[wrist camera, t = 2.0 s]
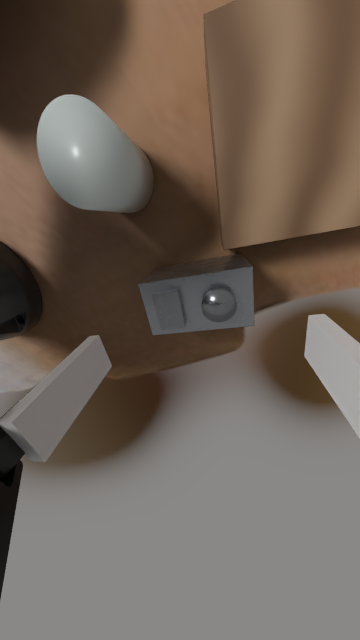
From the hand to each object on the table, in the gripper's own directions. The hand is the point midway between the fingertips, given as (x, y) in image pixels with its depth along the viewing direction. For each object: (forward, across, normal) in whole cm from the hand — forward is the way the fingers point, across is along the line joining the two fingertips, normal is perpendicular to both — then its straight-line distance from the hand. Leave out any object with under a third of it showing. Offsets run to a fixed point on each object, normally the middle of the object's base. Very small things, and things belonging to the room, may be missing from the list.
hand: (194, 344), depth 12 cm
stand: (+13, +10, +11) cm, 20 cm away
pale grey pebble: (+13, -6, +12) cm, 19 cm away
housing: (+13, 0, 0) cm, 13 cm away
